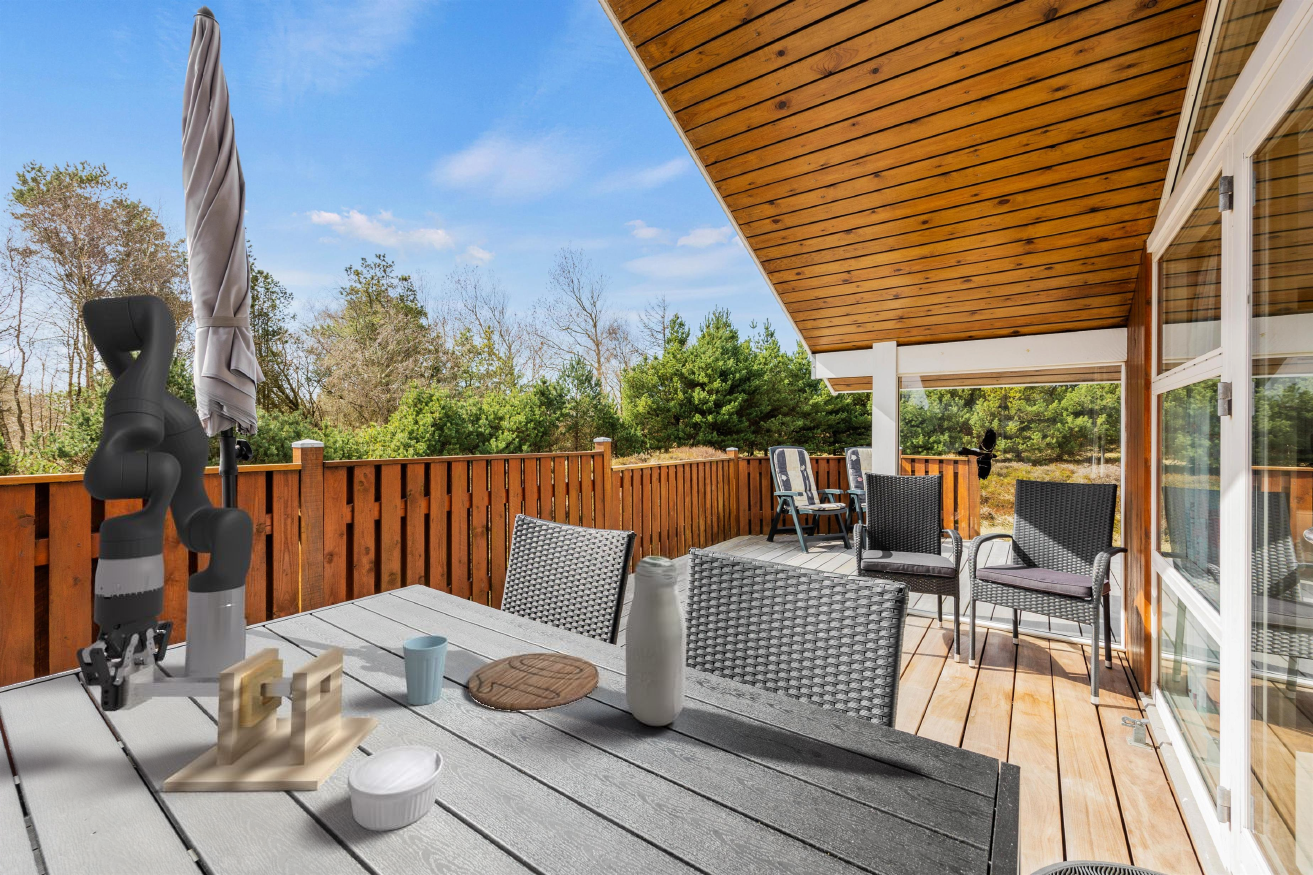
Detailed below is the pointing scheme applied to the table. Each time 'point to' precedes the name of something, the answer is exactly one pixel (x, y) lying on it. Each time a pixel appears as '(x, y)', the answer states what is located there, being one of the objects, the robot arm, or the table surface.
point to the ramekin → (395, 786)
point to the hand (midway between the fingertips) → (126, 702)
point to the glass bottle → (655, 644)
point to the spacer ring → (258, 693)
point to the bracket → (278, 734)
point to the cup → (424, 668)
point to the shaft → (183, 686)
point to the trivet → (533, 681)
